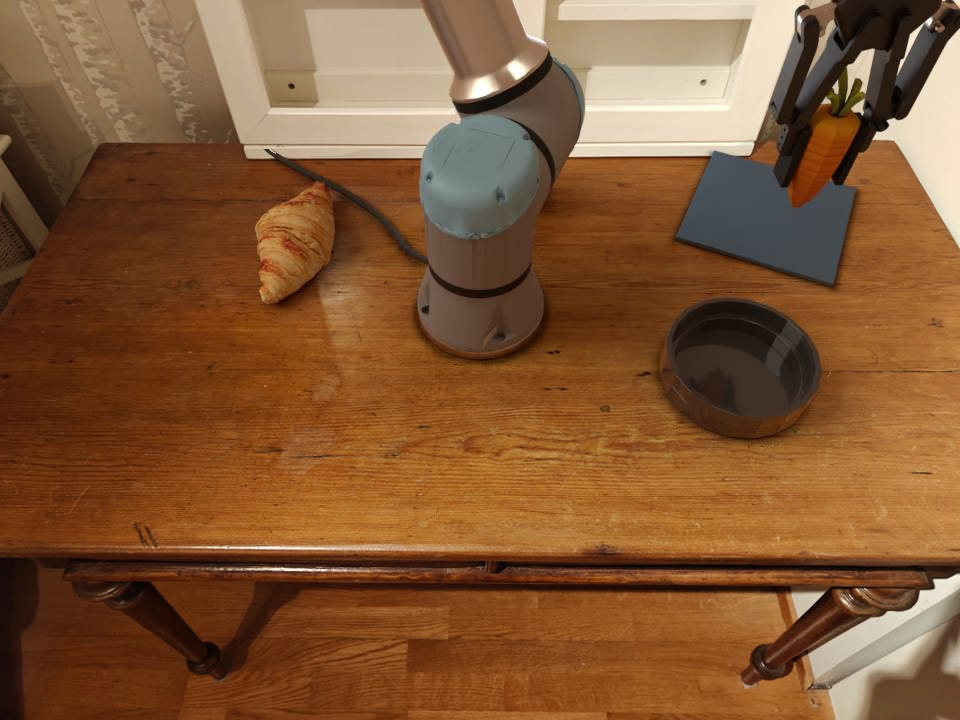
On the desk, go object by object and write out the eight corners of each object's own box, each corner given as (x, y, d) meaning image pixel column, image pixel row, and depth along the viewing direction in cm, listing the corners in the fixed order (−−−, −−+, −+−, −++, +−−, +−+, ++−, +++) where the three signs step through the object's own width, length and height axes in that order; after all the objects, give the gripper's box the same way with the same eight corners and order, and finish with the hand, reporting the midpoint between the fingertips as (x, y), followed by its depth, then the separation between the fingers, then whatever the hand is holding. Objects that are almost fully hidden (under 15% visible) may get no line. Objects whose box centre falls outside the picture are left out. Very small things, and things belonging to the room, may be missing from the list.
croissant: (299, 331, 88) (316, 298, 82) (220, 298, 85) (232, 262, 79) (346, 215, 100) (364, 179, 94) (278, 183, 97) (292, 143, 91)
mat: (675, 239, 92) (676, 236, 92) (713, 153, 103) (714, 150, 102) (831, 287, 87) (833, 283, 87) (854, 191, 98) (856, 187, 97)
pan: (640, 406, 77) (647, 383, 73) (681, 305, 85) (689, 280, 82) (790, 462, 72) (806, 440, 69) (817, 350, 81) (832, 325, 78)
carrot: (820, 226, 72) (886, 94, 60) (770, 219, 73) (825, 87, 60) (817, 195, 75) (880, 63, 63) (769, 188, 75) (822, 57, 63)
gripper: (818, -48, 50) (729, 206, 68) (1066, -57, 50) (909, 198, 68) (786, -92, 54) (710, 158, 73) (1013, -100, 54) (880, 151, 73)
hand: (807, 177), depth 71 cm, fingers closed on carrot, 5 cm apart
